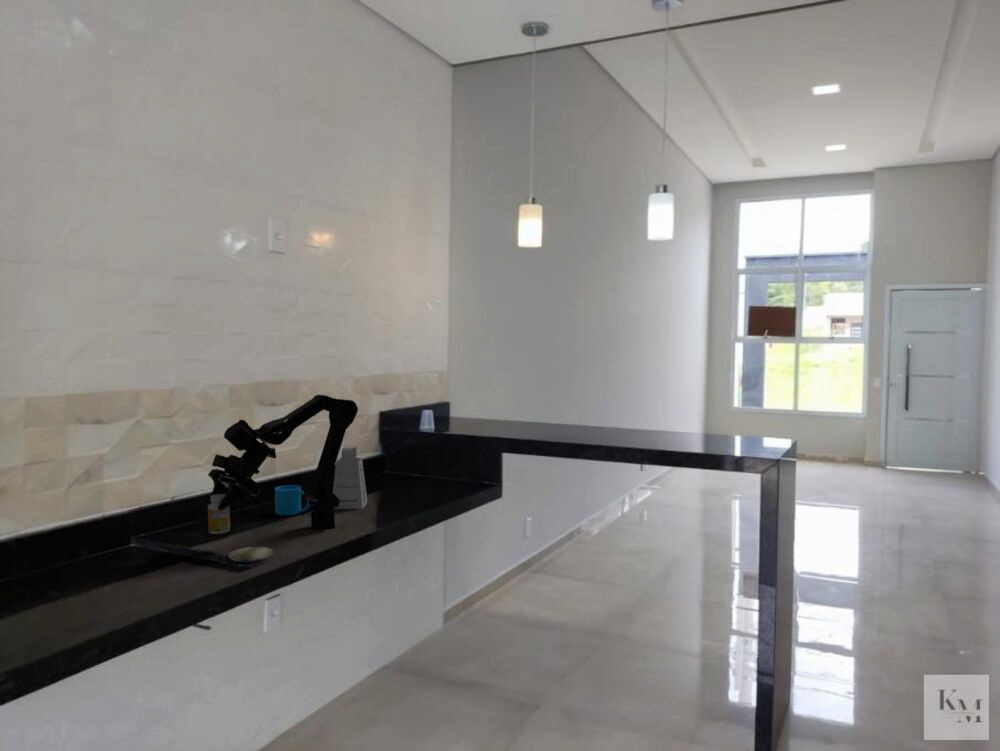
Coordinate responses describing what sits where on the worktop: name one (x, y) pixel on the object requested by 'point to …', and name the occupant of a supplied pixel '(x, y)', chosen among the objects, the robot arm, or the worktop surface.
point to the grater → (350, 480)
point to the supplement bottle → (218, 516)
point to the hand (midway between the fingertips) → (213, 507)
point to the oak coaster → (250, 553)
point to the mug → (288, 500)
